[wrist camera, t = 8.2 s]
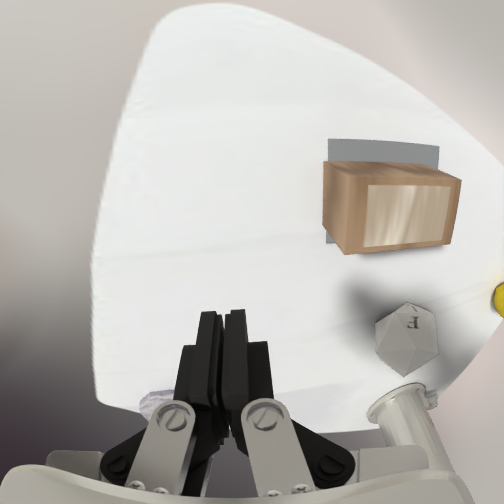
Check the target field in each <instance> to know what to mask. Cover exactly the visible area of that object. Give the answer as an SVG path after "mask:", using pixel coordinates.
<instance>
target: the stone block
mask: <svg viewBox="0 0 504 504" xmlns="http://www.w3.org/2000/svg"><path fill="white" fill-rule="evenodd" d="M173 396H174V390H164V391H157V392H150V393H149V394H148V395H146V396H145V397H144V398H143V399H142V400H141V401H140V405H139V406H140V408H139V409H140V412H141V414H142V415H143V417H144V418H146V419H147V420H148V421H150V419H151V416H152V414H153V412H154V410H155V409H156V408H157V407H158V406H159V405H160V404H162V403H164V402H167V401H171V400H173Z"/></svg>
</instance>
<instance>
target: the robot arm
mask: <svg viewBox="0 0 504 504" xmlns="http://www.w3.org/2000/svg"><path fill="white" fill-rule="evenodd" d="M425 392H426V391H425V388H424V387H423V385H421V384H418V383H416V384H409V385H406V386H403V387H400V388H398V389H396V390H394V391H392V392H390V393H388V394H387V395H385V396H384V397H382V398H381V399H379V400H378V401H377V402H376V403H375V404H374V405H372V407H371V408H370V409H369V411H368V413H367V418H368V420H369V422H371V423H374V424H379V427H380V430H381V432H382V435H383V438H384V441H385V443H386V446H387V447H382V448H367V449H366V448H365V449H359V451H347V450H346V449H344V448H342V447H341V446H339V445H336V444H335V443H333V442H331V441H329V440H327V439H325V438H323V437H322V436H320V435H318V434H316V433H314V432H313V431H311V430H309V429H307V428H306V427H304V426H302V425H300V424H299V423H297V422H295V421H294V420H292V419H291V418H290V415H289V412H288V410H287V408H286V407H285V406H284V405H283V404H282V403H281V402H279V401H277V400H275V399H274V395H273V387H272V378H271V369H270V361H269V352H268V344H267V341H262V342H248V334H247V324H246V314H245V309H240V310H231V314H226V315H225V330H224V326H223V319H222V315H221V314H220V315H217V313H216V311H207V312H201V316H200V322H199V328H198V334H197V340H196V345H184V347H183V350H182V355H181V360H180V365H179V370H178V375H177V380H176V385H175V390H174V396H173V400H171V401H167V402H164V403H162V404H160V405H159V406H158V407H157V408H156V409H155V410H154V412H153V414H152V416H151V419H150V421H149V424H148V427H146V428H145V429H143V430H142V431H140V432H139V433H137V434H135V435H134V436H132V437H131V438H129V439H127V440H126V441H124V442H122V443H121V444H119V445H117V446H116V447H114V448H112V449H111V450H109V451H108V452H106V453H103V454H101V453H100V452H99V451H65V450H56V451H53V452H52V453H50V454H49V456H48V457H47V460H46V466H42V465H22V466H18V467H15V468H13V469H11V470H10V471H9V472H8V473H7V474H6V476H5V478H4V479H3V481H2V484H1V486H0V504H475V503H474V501H473V498H472V496H471V494H470V492H469V490H468V488H467V486H466V485H465V483H464V482H463V480H462V479H461V478H460V477H459V476H458V475H457V474H456V473H455V471H454V469H453V467H452V465H451V462H450V460H449V458H448V455H447V453H446V451H445V449H444V447H443V444H442V442H441V440H440V437H439V435H438V433H437V431H436V429H435V427H434V424H433V423H432V420H431V418H430V416H429V414H428V412H427V410H430V409H433V408H435V407H437V396H436V395H434V396H432V397H430V398H426V397H425ZM229 425H230V429H231V432H232V435H233V437H235V441H236V444H237V448H238V449H239V450H240V451H242V452H243V453H244V454H245V455H247V456H248V457H249V459H250V464H251V468H252V472H253V476H254V480H255V485H256V489H257V493H258V498H204V496H205V492H206V488H207V483H208V479H209V474H210V470H211V465H212V461H213V454H214V453H216V452H217V451H218V450H219V449H220V445H223V444H224V438H228V437H229Z"/></svg>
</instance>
